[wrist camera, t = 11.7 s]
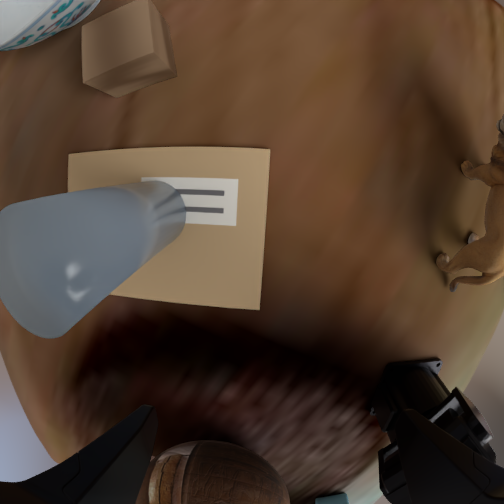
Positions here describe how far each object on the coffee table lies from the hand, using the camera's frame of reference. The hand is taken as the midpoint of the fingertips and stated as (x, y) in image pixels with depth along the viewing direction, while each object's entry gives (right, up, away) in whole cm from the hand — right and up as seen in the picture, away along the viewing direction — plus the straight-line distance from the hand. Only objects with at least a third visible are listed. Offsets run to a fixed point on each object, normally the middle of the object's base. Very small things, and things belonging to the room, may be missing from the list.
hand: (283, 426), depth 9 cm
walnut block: (-9, +20, +9) cm, 24 cm away
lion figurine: (+17, +10, +10) cm, 22 cm away
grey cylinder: (-8, +9, +11) cm, 16 cm away
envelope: (-8, +8, +12) cm, 16 cm away
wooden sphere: (-5, -17, +18) cm, 25 cm away
